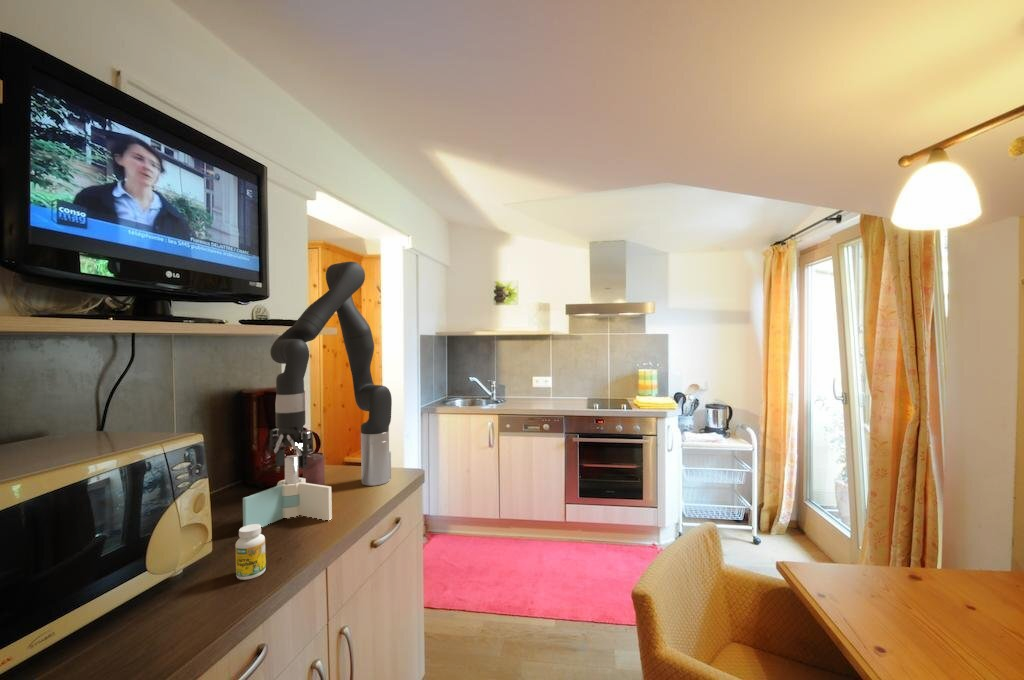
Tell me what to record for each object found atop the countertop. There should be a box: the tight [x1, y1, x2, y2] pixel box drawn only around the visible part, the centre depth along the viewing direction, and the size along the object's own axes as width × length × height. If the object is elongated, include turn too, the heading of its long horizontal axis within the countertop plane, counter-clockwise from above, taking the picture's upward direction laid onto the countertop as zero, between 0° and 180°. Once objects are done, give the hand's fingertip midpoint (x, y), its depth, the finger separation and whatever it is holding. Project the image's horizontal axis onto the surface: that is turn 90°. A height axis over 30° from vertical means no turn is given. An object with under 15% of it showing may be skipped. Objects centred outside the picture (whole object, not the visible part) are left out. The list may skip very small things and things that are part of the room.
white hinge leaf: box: [276, 477, 333, 522], centre depth 123 cm, size 7×18×9 cm, turn 67°
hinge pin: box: [284, 454, 300, 485], centre depth 125 cm, size 4×4×16 cm
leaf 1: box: [242, 485, 300, 528], centre depth 120 cm, size 18×7×9 cm, turn 157°
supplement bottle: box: [234, 524, 267, 581], centre depth 92 cm, size 5×5×10 cm
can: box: [302, 452, 326, 486], centre depth 135 cm, size 6×6×14 cm
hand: (291, 467), depth 125 cm, fingers open, 8 cm apart
